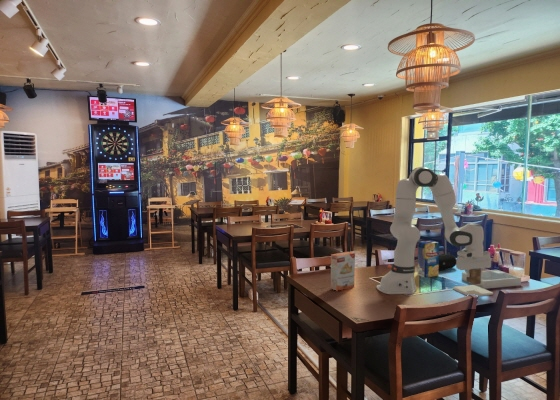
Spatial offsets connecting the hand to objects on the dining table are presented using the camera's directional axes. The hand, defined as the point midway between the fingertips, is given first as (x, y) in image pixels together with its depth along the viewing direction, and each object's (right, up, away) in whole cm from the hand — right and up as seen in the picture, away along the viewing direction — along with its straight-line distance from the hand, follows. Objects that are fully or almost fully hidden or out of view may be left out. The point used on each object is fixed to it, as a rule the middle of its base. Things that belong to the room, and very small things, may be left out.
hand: (473, 276), depth 200 cm
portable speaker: (+1, -6, +47) cm, 47 cm away
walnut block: (0, -4, 0) cm, 4 cm away
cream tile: (0, -9, +1) cm, 9 cm away
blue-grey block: (+24, -7, +17) cm, 30 cm away
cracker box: (-72, -9, +10) cm, 73 cm away
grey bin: (+19, -8, +16) cm, 26 cm away
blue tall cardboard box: (-12, -7, +34) cm, 37 cm away
